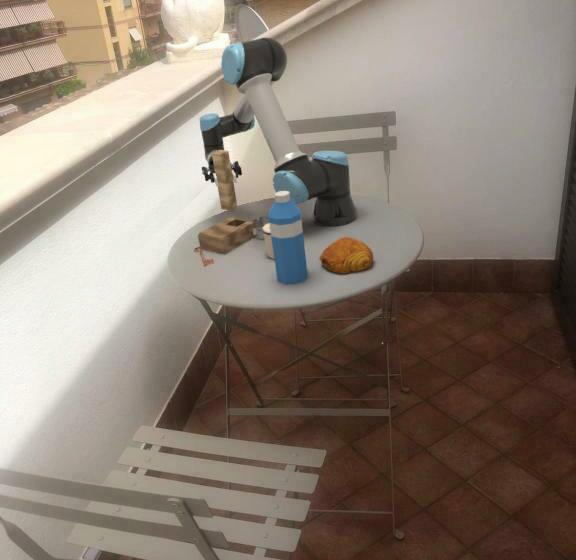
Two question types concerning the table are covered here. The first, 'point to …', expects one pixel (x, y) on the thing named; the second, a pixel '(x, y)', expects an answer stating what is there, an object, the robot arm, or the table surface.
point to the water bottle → (287, 240)
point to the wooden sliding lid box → (226, 235)
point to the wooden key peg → (224, 179)
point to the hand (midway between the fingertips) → (226, 180)
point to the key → (203, 257)
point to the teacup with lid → (268, 241)
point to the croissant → (347, 256)
